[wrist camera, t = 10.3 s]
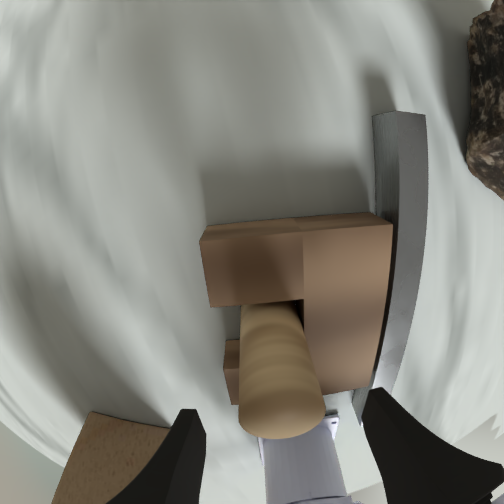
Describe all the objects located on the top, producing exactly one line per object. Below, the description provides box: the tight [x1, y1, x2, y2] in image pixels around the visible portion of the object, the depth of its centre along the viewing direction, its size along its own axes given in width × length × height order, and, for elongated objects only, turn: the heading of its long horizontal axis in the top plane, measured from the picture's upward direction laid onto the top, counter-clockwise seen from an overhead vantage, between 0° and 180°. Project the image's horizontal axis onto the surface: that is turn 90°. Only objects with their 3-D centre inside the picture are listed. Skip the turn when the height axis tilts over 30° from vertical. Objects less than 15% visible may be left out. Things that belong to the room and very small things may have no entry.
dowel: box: [238, 300, 326, 439], centre depth 14 cm, size 4×4×9 cm
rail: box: [352, 111, 428, 427], centre depth 17 cm, size 24×2×3 cm, turn 5°
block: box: [199, 212, 393, 405], centre depth 17 cm, size 12×10×3 cm
